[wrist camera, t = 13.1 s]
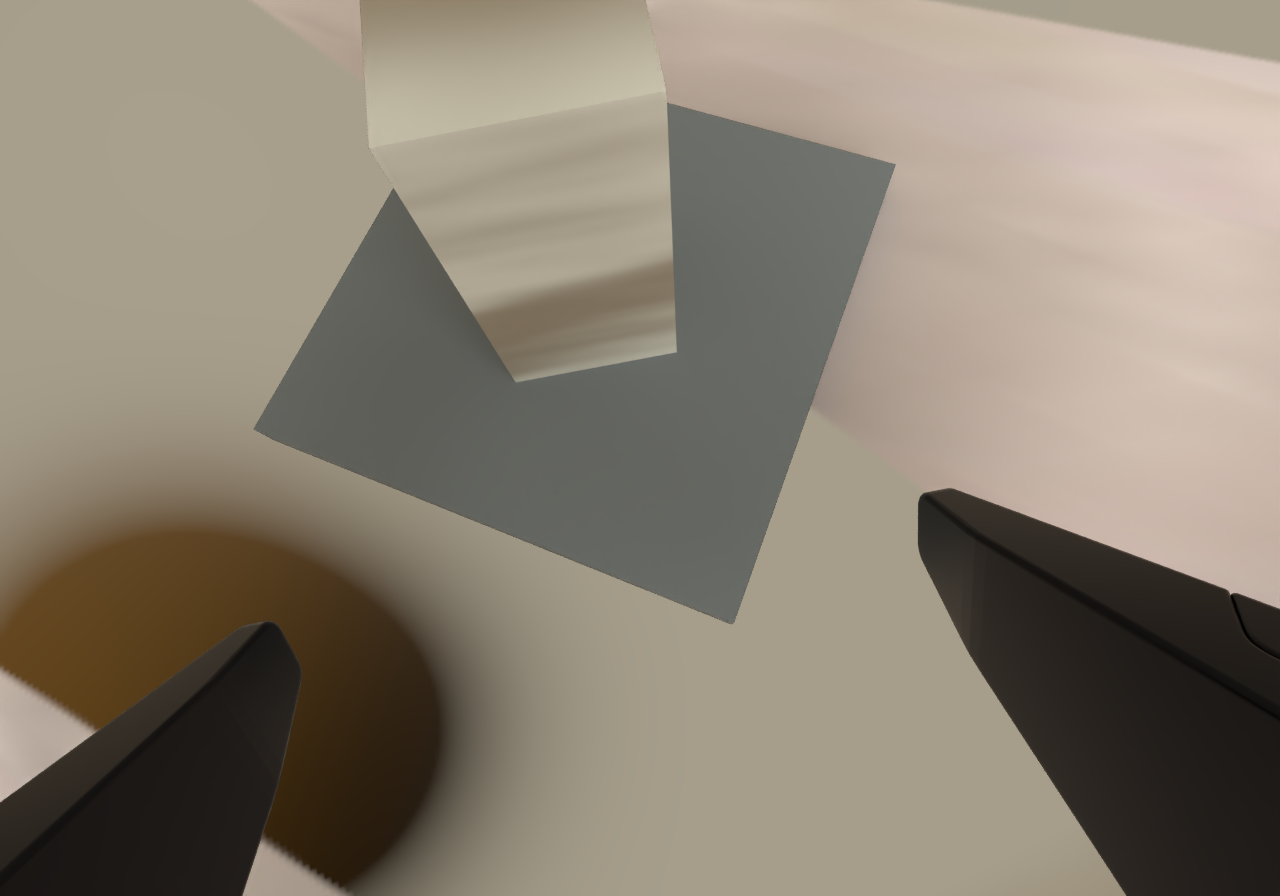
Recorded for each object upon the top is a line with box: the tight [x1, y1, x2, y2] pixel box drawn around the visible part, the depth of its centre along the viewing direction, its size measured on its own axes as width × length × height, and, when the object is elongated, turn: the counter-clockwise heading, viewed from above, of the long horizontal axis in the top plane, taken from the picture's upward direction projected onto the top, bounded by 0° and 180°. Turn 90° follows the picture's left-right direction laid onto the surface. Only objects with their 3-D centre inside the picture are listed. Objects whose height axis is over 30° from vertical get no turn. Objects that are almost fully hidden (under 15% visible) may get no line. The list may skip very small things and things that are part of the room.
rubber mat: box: [254, 103, 896, 624], centre depth 20 cm, size 14×14×1 cm
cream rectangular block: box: [360, 0, 677, 382], centre depth 15 cm, size 4×4×9 cm
